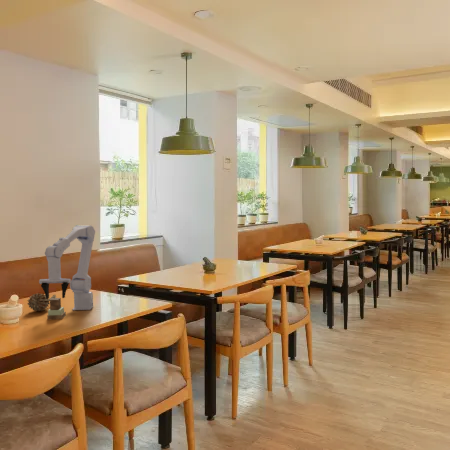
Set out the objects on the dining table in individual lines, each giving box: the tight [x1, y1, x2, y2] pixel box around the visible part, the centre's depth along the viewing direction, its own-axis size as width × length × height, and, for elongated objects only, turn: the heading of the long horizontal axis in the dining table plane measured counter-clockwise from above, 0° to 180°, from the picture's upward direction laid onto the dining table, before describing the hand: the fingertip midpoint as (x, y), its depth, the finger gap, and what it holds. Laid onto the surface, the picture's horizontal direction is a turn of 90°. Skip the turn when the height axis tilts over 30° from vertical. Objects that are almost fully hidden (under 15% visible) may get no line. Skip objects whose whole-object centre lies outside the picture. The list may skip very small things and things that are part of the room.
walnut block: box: [49, 297, 62, 310], centre depth 237 cm, size 4×4×5 cm
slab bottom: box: [46, 311, 67, 321], centre depth 238 cm, size 7×7×2 cm
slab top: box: [47, 306, 65, 315], centre depth 238 cm, size 6×6×2 cm
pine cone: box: [26, 292, 57, 312], centre depth 255 cm, size 22×10×10 cm, turn 172°
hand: (55, 297), depth 237 cm, fingers open, 7 cm apart
